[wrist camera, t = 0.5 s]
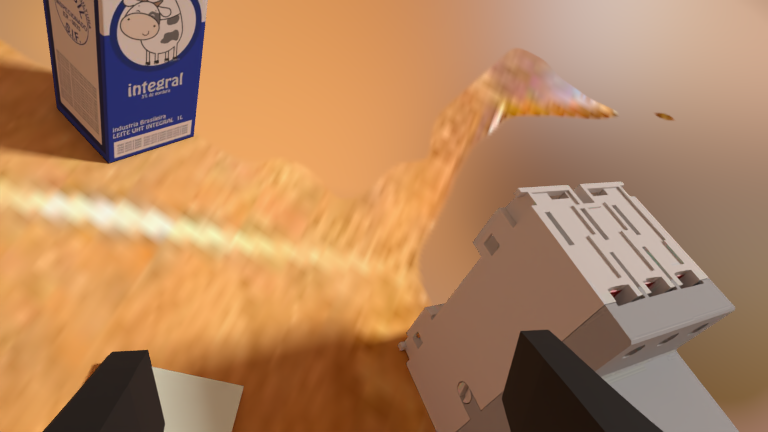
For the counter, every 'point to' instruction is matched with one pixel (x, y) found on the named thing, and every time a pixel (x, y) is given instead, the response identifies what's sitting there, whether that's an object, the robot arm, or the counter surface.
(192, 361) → the counter surface
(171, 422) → the pad
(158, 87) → the milk carton
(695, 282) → the circuit breaker
